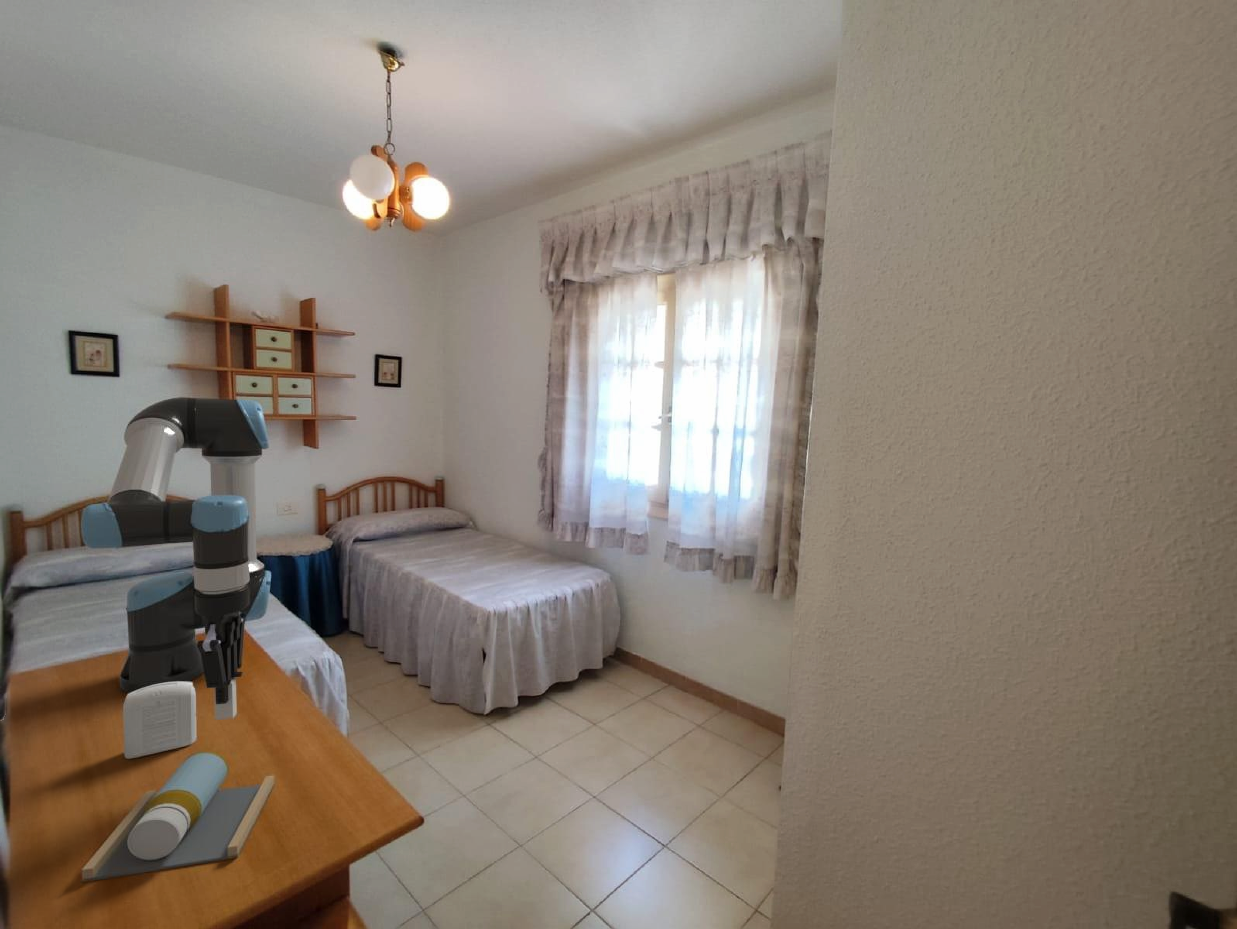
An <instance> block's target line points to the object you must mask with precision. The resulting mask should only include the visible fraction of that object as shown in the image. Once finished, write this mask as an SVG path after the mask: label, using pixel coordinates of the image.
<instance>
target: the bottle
mask: <svg viewBox="0 0 1237 929" xmlns="http://www.w3.org/2000/svg"><path fill="white" fill-rule="evenodd" d="M228 773H229V763H228V760H227V759H226V758H225V757H224V756H223V754H220V753H218V752H216V751H213V750H212V751H211V750H201V751H197V752H195V753H192V754H190V755H189V756H188V757H186V758H185V759H184V760H183V761H182V763H181V764H180V765H179V767H177V768H176V770H175V771H174V772H173V774H171V776H170V777H169V778H168V780H167V781H166V782H165V784H164V785H163V786H162V787H161V789H160V790H159V791H158V792H156V796H155V797H154V798H153V800H152V801H151V802H150V803H149V805H148V806H147V807H146V810H145V812H144V815H143V817H142V818H141V819H140V820H139V822H138V823H137V824H136V825H135V827H134V828H133V829H132V831H131V832H130V834H129V836H128V840H127V845H128V848H129V850H130V852H131V853H132V854H133V855H135V856H136V857H138V858H141V859H146V860H153V859H158V858H162V857H164V856H166V855H168V854H169V853H170V852H172V851H173V850H174V849H175V848H176V846H177V845H178V844H179V842H180V841H181V839H182V838H183V836H184V834H185V833H186V831H188V830H189V829H191V828H192V827H193V826H194V824H195V823H196V822H197V820H198V819H199V818H200V816H201V815H202V813H203V812H204V810H205V809H206V807H207V806H208V804H209V802H210V801H211V799H212V798H213V796H214V795H215V793H216V792H217V790H220V787H221V786H222V785H223V783H224V781H225V780H226V778H227V777H228Z"/></svg>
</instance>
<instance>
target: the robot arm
mask: <svg viewBox="0 0 1237 929" xmlns="http://www.w3.org/2000/svg"><path fill="white" fill-rule="evenodd" d="M265 421H266V420H265V416H264V410H263V406H262V405H261V404H260V403H259V401H256V400H247V399H246V400H245V399H238V398H236V399H232V398H229V399H228V398H208V397H207V398H205V397H190V396H189V397H188V396H187V397H185V396H178V397H173V398H172V397H171V398H167V399H164V400H162V401H159V402H155V403H153V404H151V405H149V406H147V407H145V408H144V409H142V410H141V411H139V412H138V413H137V414H135V415H134V416H133V417H132V418H131V419H130V421H129V422H128V423H127V426H126V428H125V431H124V433H123V440H124V442H125V445H126V447H125V451H124V454H123V457H122V459H121V462H120V465H119V468H118V471H117V474H116V476H115V479H114V483H113V485H112V488H111V491H110V494H109V497H108V499H107V502H106V501H105V502H103V501H102V503H93V504H89V505H87V506H85V508H84V509H83V510H82V514H81V520H80V534H81V539H82V541H83V544H84V545H85V546H87V547H88V548H90V549H122V548H132V547H142V546H154V545H163V544H164V545H166V544H183V543H192V548H193V549H192V551H193V568H192V569H191V571H190V572H188V571H185V572H179V571H178V572H172V573H166V574H162V575H157V576H154V577H152V578H151V577H150V578H147V579H145V580H143V581H141V582H138V583H136V584H134V585H133V586H132V587H131V588H130V589H129V590H128V592H127V595H126V596H127V597H126V606H125V611H126V614H127V615H126V616H127V632H128V653H127V655H126V657H125V659H124V663H123V667H122V669H121V671H120V674H119V678H118V679H119V688H120V690H122V691H124V692H127V693H131V692H133V691H136V690H138V689H141V688H144V687H147V686H151V685H155V684H159V683H165V682H177V681H185V682H192V681H193V680H194V679H196V678H198V677H200V676H201V675H202V674H204V678H205V686H206V688H207V689H213V697H214V720H215V721H218V720H227V719H228V720H229V719H234V718H235V716H236V715H237V713H238V712H237V711H238V709H237V708H238V706H237V678H241V677H242V676H243V671H238V670H239V669H241V668H242V665H243V651H244V637H245V625H246V622H250V621H251V622H252V621H255V620H260V619H262V618H263V617H265V615H266V614H267V612H268V606H269V599H270V590H271V580H272V572H271V571H270V570H265V563H263V562H261V561H260V560H259V559H257V558H258V555H257V523H256V522H257V519H256V518H257V515H256V514H257V513H256V510H257V508H256V506H257V505H256V462H257V461H258V460H259V459H261V458H262V457H263V450H267V449H269V447H270V445H269V438H268V434H267V432H268V431H267V427H266V422H265ZM181 449H199V450H200V449H201V457H202V458H203V459H204V460H206V461H207V462H208V463H209V464H210V468H209V469H210V495H208V496H203V497H198V498H197V499H182V500H166V499H167V494H168V489H169V485H170V479H171V475H172V469H173V465H174V460H175V456H176V454H177V453H178V452H180V450H181ZM200 629H204V634H205V635H206V636H205V638H204V640H203V639H202V640H201V639H200V640H198V641H197V638H196V630H200Z"/></svg>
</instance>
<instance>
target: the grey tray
mask: <svg viewBox="0 0 1237 929" xmlns="http://www.w3.org/2000/svg"><path fill="white" fill-rule="evenodd" d="M274 786H275V775H267V776H265V777H264V779H263V780H262V783H261V784H256V785H249V786H242V787H241V786H240V787H233V788H225V789H218V790H217V792H216V793H215V795H214V796H213V798H212V799H211V801H210V802H209V804H208V806H207V807H206V809H205V810H204V812H203V813H202V815H201V816H200V818H199V819H198V820H197V822H196V823H195V824H194V826H193V827H192V828H191V829H189V830H188V831H186V833H185V834H184V836H183V838H182V839H181V841H180V842H179V844H178V845H177V846H176V848H175V849H174V850H173V851H172V852H170V853H169V854H168V855H166V856H164V857H162V858H158V859H153V860H146V859H141V858H138V857H136V856H135V855H133V854H132V853H131V852H130V850H129V848H128V845H127V840H128V836H129V834H130V832H131V831H132V829H133V828H134V827H135V825H136V824H137V823H138V822H139V820H140V819H141V818H142V817H143V815H144V812H145V810H146V807H147V806H148V805H149V803H150V802H151V801H152V800H153V798H154V797H155V796H156V795H157V790H156V789H153V790H147V791H146V792H145V793H144V794H143V795H142V796H141V797H140V799H139V800H138V801H137V802H136V804H135V805H134V806H133V807H132V809H131V810H130V811H129V813H127V815H126V816H125V817H124V818H123V820H121V822H120V823H119V824H118V825H117V827H116V828H115V829H114V830H113V831H112V833H110V835H109V836H108V837H107V838H106V840H105V841H104V843H103V844H102V845H101V846H100V847H99V848H98V850H97V851H96V852H95V853H94V854H93V856H92V857H90V859H89V860H88V862H87V863H86V864H85V865H84V866H83V867H82V868H81V879H82V880H81V881H82V883H85V882H92V881H93V882H94V881H98V880H99V881H100V880H103V879H104V880H105V879H111V878H117V877H124V876H129V875H135V874H143V873H148V872H154V871H160V870H167V869H174V868H180V867H188V866H192V865H199V864H205V863H212V862H217V861H223V860H230V859H236V858H238V857H239V856H240V854H241V851H242V850H243V847H244V845H246V844H245V843H246V842H247V840H248V838H249V836H250V835H251V832H252V830H253V828H254V826H255V824H256V822H257V820H258V818H259V817H260V815H261V812H262V810H263V808H264V806H265V805H266V802H267V800H268V799H269V796H270V794H271V792H272V790H273V788H274Z"/></svg>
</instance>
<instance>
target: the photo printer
mask: <svg viewBox="0 0 1237 929" xmlns="http://www.w3.org/2000/svg"><path fill="white" fill-rule="evenodd" d="M196 693H197V692H196V688H195V687H194V683H193V681H189V682H185V681H177V682H165V683H159V684H155V685H151V686H147V687H144V688H141V689H138V690H136V691H133V692H131V693H130V692H128V693H127V694H126V697H125V700H124V702H123V706H122V716H123V717H122V719H123V720H122V721H123V751H124V756H123V757H124V758H125V759H128V760H130V759H135V758H140V757H144V756H148V755H153V754H157V753H158V754H159V753H162V752H166V751H170V750H175V749H179V748H182V747H187V746H190V745H192V744H194V743H195V742H196V741H197V697H196V696H197V695H196Z"/></svg>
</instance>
